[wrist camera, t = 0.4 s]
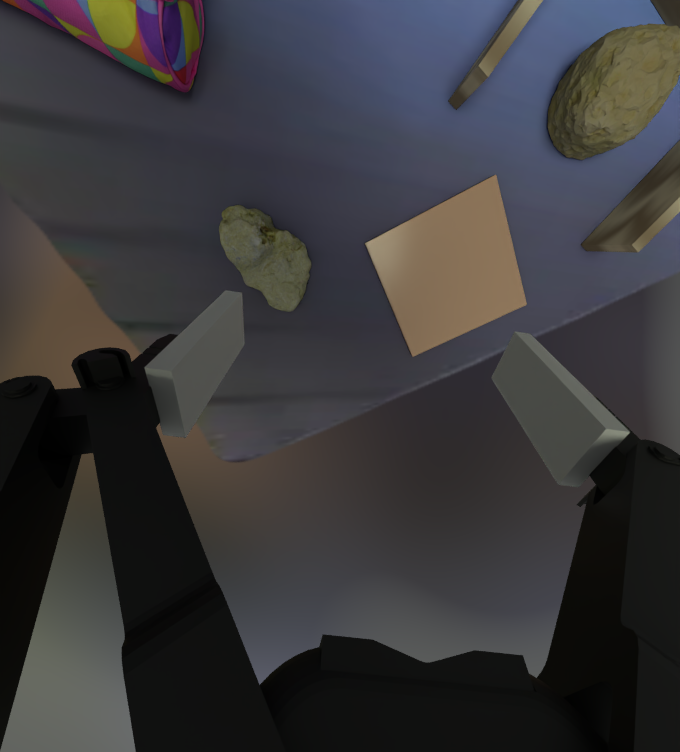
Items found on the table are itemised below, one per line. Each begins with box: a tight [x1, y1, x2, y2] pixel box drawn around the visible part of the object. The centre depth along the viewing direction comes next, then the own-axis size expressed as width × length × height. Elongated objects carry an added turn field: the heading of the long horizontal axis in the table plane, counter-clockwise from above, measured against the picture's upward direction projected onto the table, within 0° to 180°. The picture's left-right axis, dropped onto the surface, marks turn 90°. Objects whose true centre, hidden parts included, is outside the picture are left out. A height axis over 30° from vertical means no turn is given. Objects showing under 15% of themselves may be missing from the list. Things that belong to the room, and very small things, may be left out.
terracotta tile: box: [365, 175, 527, 356], centre depth 39 cm, size 16×16×1 cm
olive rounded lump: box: [548, 24, 680, 160], centre depth 30 cm, size 9×10×10 cm
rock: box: [219, 205, 311, 312], centre depth 35 cm, size 11×6×10 cm
